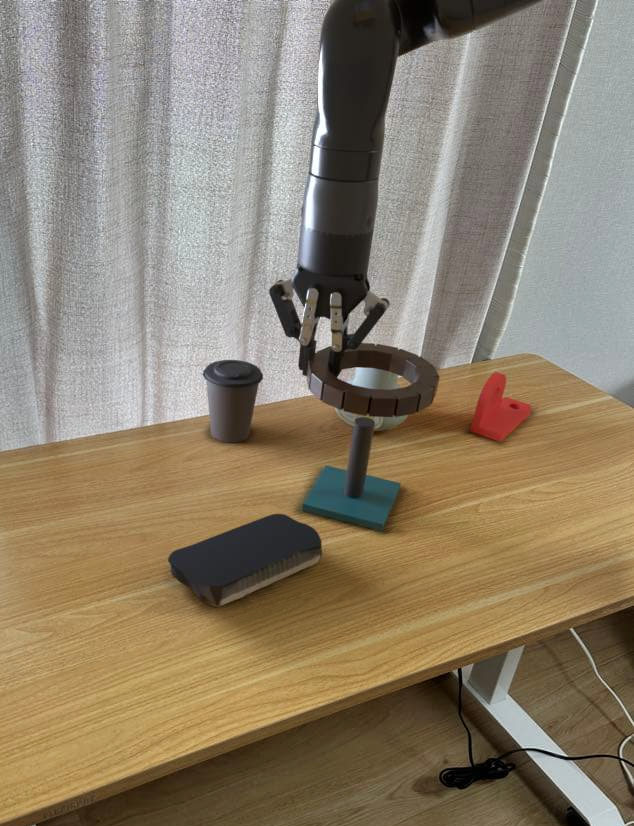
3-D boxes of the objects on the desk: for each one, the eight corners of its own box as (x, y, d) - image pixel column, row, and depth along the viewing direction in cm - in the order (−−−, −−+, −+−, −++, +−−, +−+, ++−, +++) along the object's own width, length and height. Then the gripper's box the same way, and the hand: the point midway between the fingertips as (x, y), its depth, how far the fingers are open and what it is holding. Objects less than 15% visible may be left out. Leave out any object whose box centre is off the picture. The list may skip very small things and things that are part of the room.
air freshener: (322, 421, 117) (330, 356, 111) (347, 400, 122) (357, 338, 116) (391, 444, 112) (404, 378, 106) (414, 422, 118) (427, 358, 112)
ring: (444, 374, 95) (448, 357, 94) (421, 428, 84) (425, 409, 83) (327, 351, 99) (329, 334, 97) (290, 399, 88) (292, 381, 87)
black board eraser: (207, 621, 82) (208, 593, 79) (162, 576, 87) (162, 549, 85) (327, 567, 90) (331, 540, 87) (280, 529, 95) (283, 503, 93)
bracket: (499, 441, 114) (514, 391, 110) (470, 431, 116) (483, 380, 112) (531, 412, 122) (546, 364, 117) (503, 403, 124) (517, 355, 119)
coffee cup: (241, 453, 108) (245, 385, 102) (190, 436, 112) (191, 369, 106) (269, 429, 114) (274, 363, 108) (219, 413, 117) (222, 349, 111)
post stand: (399, 489, 103) (415, 412, 96) (382, 531, 96) (397, 451, 89) (324, 471, 106) (335, 395, 99) (301, 510, 98) (311, 431, 92)
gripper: (412, 221, 84) (385, 375, 94) (285, 202, 87) (273, 352, 98) (396, 240, 78) (369, 402, 88) (262, 219, 82) (251, 376, 92)
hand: (319, 375), depth 93 cm, fingers closed on ring, 2 cm apart
